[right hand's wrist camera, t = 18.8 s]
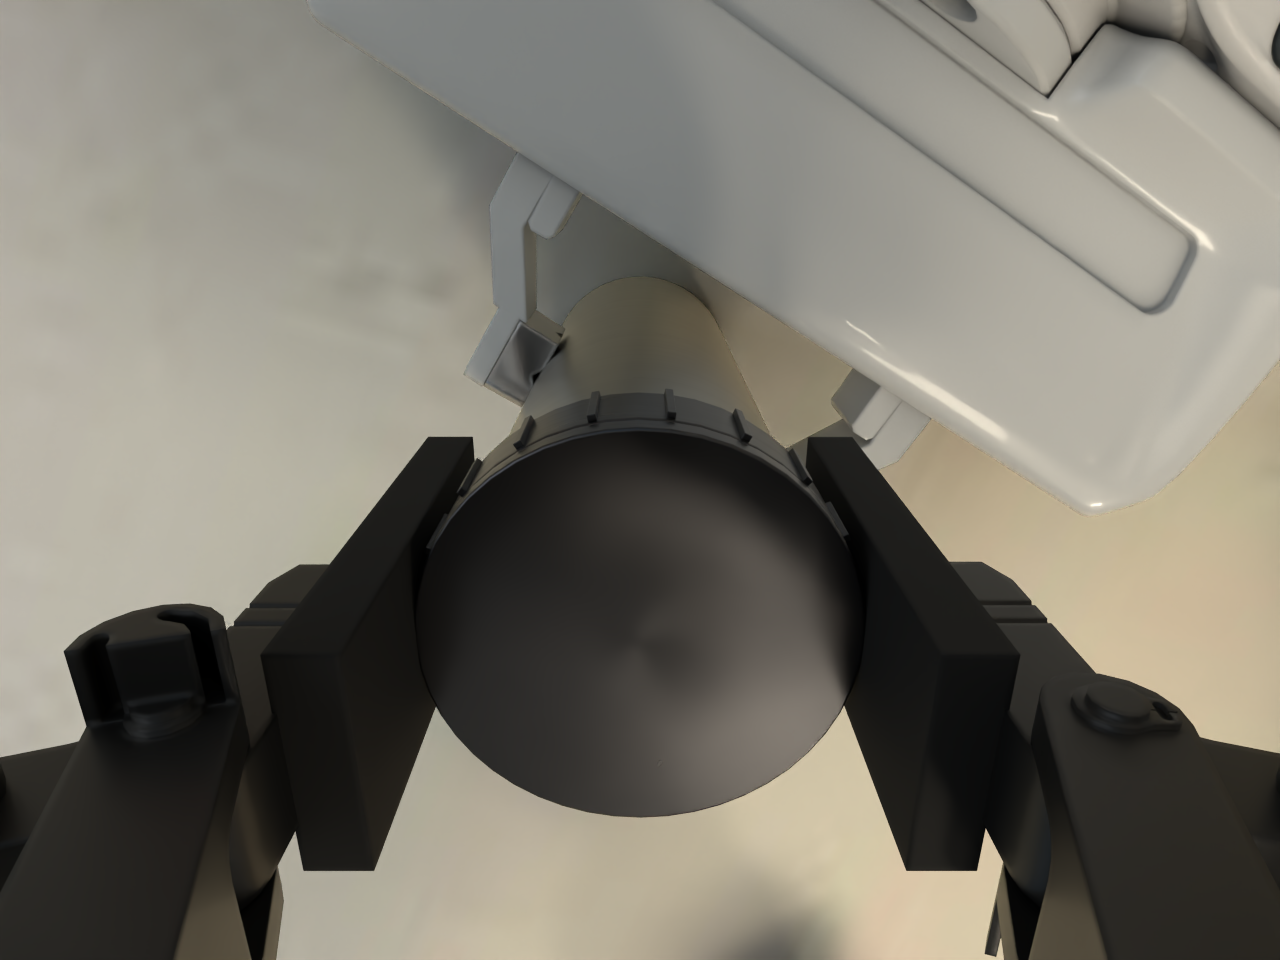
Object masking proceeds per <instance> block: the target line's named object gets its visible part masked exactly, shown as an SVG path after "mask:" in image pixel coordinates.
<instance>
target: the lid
mask: <svg viewBox="0 0 1280 960" xmlns="http://www.w3.org/2000/svg"><path fill="white" fill-rule="evenodd" d="M457 494H459V496H458V498H457V500H456V501H455V503H454V505H453V507H452V509H451V511H450V512H449V514H444V515H443V517H442V519H441V521H440V523H439V524H438V526H437V528H436V530H435V531H434V533H433V535H432V537H431V539H430V540H429V542H428V544H427V546H426V548H425V551H424V554H426V555H428V556H427V558H426V560H425V563H424V565H423V568H422V572H421V576H420V580H419V583H418V587H417V591H416V600H415V610H414V622H415V631H416V640H417V648H418V656H419V664H420V669H421V672H422V674H423V677H424V680H425V683H426V685H427V688H428V691H429V693H430V695H431V697H432V699H433V701H434V703H435V705H436V707H437V708H438V710H439V712H440V714H441V716H442V717H443V718H444V720H445V721H446V723H447V724H448V725H449V727H450V728H451V730H452V731H453V732H454V734H455V735H456V736H457V737H458V738H459V739H460V741H461V742H462V743H463V744H464V745H465V746H466V747H467V748H468V749H469V750H470V751H471V752H472V753H473V754H474V755H475V756H476V757H477V758H478V759H480V760H481V761H482V762H483V763H484V764H486V765H487V766H488V767H489V768H490V769H492V770H493V771H494V772H496V773H497V774H499V775H500V776H502V777H503V778H505V779H507V780H508V781H510V782H511V783H513V784H514V785H516V786H518V787H520V788H522V789H524V790H526V791H528V792H530V793H532V794H534V795H536V796H538V797H541V798H543V799H546V800H549V801H551V802H554V803H557V804H559V805H562V806H566V807H570V808H573V809H577V810H581V811H585V812H590V813H596V814H603V815H610V816H620V817H659V816H671V815H677V814H683V813H690V812H695V811H699V810H703V809H706V808H710V807H714V806H718V805H721V804H723V803H726V802H729V801H731V800H734V799H736V798H739V797H742V796H744V795H746V794H748V793H750V792H752V791H754V790H756V789H758V788H760V787H762V786H763V785H765V784H767V783H769V782H770V781H772V780H773V779H775V778H776V777H778V776H779V775H781V774H782V773H784V772H785V771H787V770H788V769H790V768H791V767H792V766H793V765H794V764H795V763H797V762H798V761H799V760H800V759H801V758H802V757H804V756H805V755H806V754H807V753H808V752H809V751H810V750H811V749H812V748H813V747H814V746H815V745H816V743H817V742H818V741H819V740H820V739H821V738H822V737H823V736H824V735H825V734H826V732H827V731H828V729H829V728H830V726H831V725H832V724H833V722H834V721H835V719H836V718H837V716H838V715H839V714H840V712H841V710H842V708H843V706H844V704H845V702H846V700H847V698H848V696H849V694H850V692H851V690H852V688H853V685H854V682H855V679H856V676H857V673H858V670H859V667H860V663H861V658H862V652H863V645H864V636H865V621H866V613H865V604H864V596H863V588H862V585H861V581H860V578H859V574H858V570H857V567H856V563H855V561H854V559H853V557H852V554H851V552H850V550H849V548H848V546H847V542H849V541H851V538H850V536H849V534H848V532H847V530H846V528H845V527H844V525H843V523H842V521H841V520H840V518H839V516H838V514H837V512H836V511H835V509H834V507H833V505H832V504H831V502H827V503H825V502H824V500H823V498H822V497H821V495H820V493H819V491H818V490H817V488H816V487H815V485H814V483H813V480H812V478H811V477H810V475H809V473H808V471H807V469H806V467H805V465H804V464H803V462H802V460H801V458H800V456H799V454H798V453H797V452H796V451H795V449H794V448H792V449H791V450H790V451H789V452H788V451H787V450H786V449H785V448H784V447H783V446H782V445H780V444H779V443H778V442H777V441H776V440H775V439H773V438H772V437H771V436H770V435H769V434H767V433H766V432H764V431H763V430H761V429H760V428H758V427H757V426H755V425H754V424H752V423H750V422H749V421H747V420H746V419H745V417H744V415H743V412H742V411H741V410H739V409H736V408H735V410H734V412H733V413H731V412H729V411H727V410H725V409H723V408H720V407H717V406H714V405H711V404H708V403H705V402H702V401H699V400H696V399H691V398H686V397H680V396H675V395H674V393H673V389H665V393H664V394H658V393H640V392H637V393H622V394H609V395H604V396H600V391H595V392H592V393H591V397H590V398H589V399H584V400H581V401H578V402H575V403H572V404H569V405H566V406H563V407H560V408H557V409H555V410H552V411H550V412H548V413H546V414H544V415H542V416H540V417H538V418H536V419H533V417H532V416H531V415H530V416H528V417H526V418H525V419H524V421H523V423H522V425H521V428H520V429H518V430H517V431H516V432H514V433H513V434H511V435H510V436H508V437H507V438H506V439H505V440H504V441H503V442H502V443H500V444H499V445H498V446H497V447H496V448H495V449H494V450H493V451H491V452H490V453H489V454H488V456H487V457H486V458H485V459H484V460H483V461H481V460H479V459H478V458H477V459H476V460H475V461H474V462H473V464H472V466H471V468H470V469H469V471H468V473H467V475H466V476H465V478H464V480H463V482H462V484H461V485H460V487H459V489H458V491H457Z"/></svg>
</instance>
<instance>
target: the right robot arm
mask: <svg viewBox="0 0 1280 960" xmlns="http://www.w3.org/2000/svg"><path fill="white" fill-rule="evenodd" d="M474 461H475V460H474V447H473V437H428V438H427V439H426V441H425V442H424V443H423V444H422V446H421V447H420V448H419V450H418V451H417V452H416V453H415V455H414V456H413V457H412V459H411V460H410V461H409V463H408V464H407V465H406V466H405V468H404V469H403V470H402V472H401V473H400V474H399V475H398V477H397V478H396V479H395V481H394V482H393V483H392V485H391V486H390V487H389V488H388V490H387V491H386V492H385V494H384V495H383V496H382V497H381V499H380V500H379V501H378V503H377V504H376V505H375V507H374V508H373V509H372V510H371V512H370V513H369V514H368V516H367V517H366V518H365V519H364V521H363V522H362V523H361V525H360V526H359V527H358V529H357V530H356V531H355V532H354V534H353V535H352V536H351V538H350V539H349V540H348V541H347V543H346V544H345V545H344V547H343V548H342V549H341V551H340V552H339V553H338V554H337V556H336V557H335V558H334V560H333V561H332V562H331V563H330V565H298V566H296V567H295V568H293V569H291V570H289V571H288V572H286V573H284V574H283V575H281V576H279V577H277V578H276V579H274V580H272V581H271V582H269V583H268V584H267V585H266V586H265V587H264V588H263V590H262V591H261V592H260V593H259V594H258V595H257V596H256V597H255V599H254V600H253V601H252V602H251V603H250V608H246V609H245V610H244V611H243V612H242V613H241V614H240V615H239V617H238V618H237V619H236V620H235V621H234V626H230V627H229V628H228V629H227V630H226V626H225V622H224V617H223V616H222V615H221V614H220V613H218V612H217V611H215V610H214V609H213V608H211V607H206V606H200V605H195V604H171V605H160V606H155V607H150V608H146V609H141V610H136V611H132V612H129V613H127V614H124V615H121V616H118V617H116V618H113V619H110V620H108V621H105V622H103V623H101V624H99V625H97V626H96V627H94V628H92V629H90V630H89V631H87V632H85V633H83V634H82V635H80V636H79V637H78V638H77V639H76V640H75V641H74V642H73V643H72V644H71V645H70V646H69V647H68V648H67V649H66V650H65V651H64V654H65V657H66V661H67V664H68V667H69V670H70V674H71V677H72V680H73V684H74V687H75V690H76V693H77V697H78V700H79V703H80V706H81V710H82V713H83V716H84V720H85V723H86V726H87V727H86V729H85V731H84V733H83V734H82V736H81V738H80V740H79V742H75V743H71V744H66V745H61V746H56V747H51V748H46V749H41V750H36V751H31V752H26V753H21V754H16V755H11V756H5V757H0V960H276V956H277V948H278V941H279V933H280V925H281V918H282V910H283V903H284V899H283V892H282V885H281V880H280V875H279V871H278V864H279V862H280V860H281V858H282V856H283V854H284V852H285V850H286V848H287V846H288V844H289V842H290V840H291V839H292V837H293V835H294V833H295V831H296V836H297V840H298V845H299V850H300V855H301V860H302V865H303V870H304V871H374V870H375V867H376V864H377V862H378V859H379V856H380V854H381V851H382V848H383V846H384V843H385V840H386V838H387V835H388V832H389V830H390V827H391V824H392V822H393V819H394V816H395V814H396V811H397V808H398V806H399V803H400V801H401V798H402V795H403V793H404V790H405V787H406V785H407V782H408V779H409V777H410V774H411V771H412V769H413V766H414V763H415V761H416V758H417V755H418V753H419V750H420V747H421V745H422V742H423V739H424V737H425V734H426V731H427V729H428V726H429V723H430V721H431V718H432V715H433V713H434V710H435V707H436V705H435V703H434V701H433V699H432V697H431V695H430V693H429V691H428V688H427V685H426V683H425V680H424V677H423V674H422V672H421V669H420V664H419V656H418V648H417V640H416V631H415V622H414V610H415V600H416V591H417V587H418V583H419V580H420V576H421V572H422V568H423V565H424V563H425V560H426V558H427V556H428V555H426V554H424V551H425V548H426V546H427V544H428V542H429V540H430V539H431V537H432V535H433V533H434V531H435V530H436V528H437V526H438V524H439V523H440V521H441V519H442V517H443V515H444V514H449V512H450V511H451V509H452V507H453V505H454V503H455V501H456V500H457V498H458V496H459V494H457V491H458V489H459V487H460V485H461V484H462V482H463V480H464V478H465V476H466V475H467V473H468V471H469V469H470V468H471V466H472V464H473V462H474ZM806 469H807V471H808V473H809V475H810V477H811V478H812V480H813V483H814V485H815V487H816V488H817V490H818V491H819V493H820V495H821V497H822V498H823V500H824V502H825V503H827V502H831V504H832V505H833V507H834V509H835V511H836V512H837V514H838V516H839V518H840V520H841V521H842V523H843V525H844V527H845V528H846V530H847V532H848V534H849V536H850V538H851V541H849V542H847V546H848V548H849V550H850V552H851V554H852V557H853V559H854V561H855V563H856V567H857V570H858V574H859V578H860V581H861V585H862V588H863V596H864V604H865V613H866V621H865V636H864V645H863V652H862V658H861V663H860V667H859V670H858V673H857V676H856V679H855V682H854V685H853V688H852V690H851V692H850V694H849V696H848V698H847V700H846V702H845V704H844V706H845V709H846V711H847V714H848V717H849V719H850V722H851V725H852V727H853V730H854V733H855V735H856V738H857V741H858V743H859V746H860V748H861V751H862V754H863V756H864V759H865V762H866V764H867V767H868V770H869V772H870V775H871V778H872V780H873V783H874V786H875V788H876V791H877V794H878V796H879V799H880V802H881V804H882V807H883V810H884V812H885V815H886V818H887V820H888V823H889V826H890V828H891V831H892V834H893V836H894V839H895V842H896V844H897V847H898V850H899V852H900V855H901V858H902V860H903V863H904V866H905V868H906V871H977V868H978V863H979V858H980V853H981V848H982V843H983V838H984V833H985V828H986V829H987V831H988V833H989V835H990V837H991V839H992V841H993V843H994V845H995V847H996V849H997V851H998V853H999V854H1000V856H1001V858H1002V860H1003V866H1002V871H1001V875H1000V880H999V884H998V889H997V894H996V898H995V903H994V907H993V912H992V917H991V921H990V926H989V931H988V935H987V942H986V948H985V954H987V955H991V956H995V957H996V955H997V951H998V946H999V942H1000V939H1002V946H1003V954H1004V960H1280V754H1279V753H1274V752H1269V751H1264V750H1259V749H1253V748H1248V747H1243V746H1238V745H1233V744H1228V743H1223V742H1218V741H1213V740H1209V739H1205V738H1201V737H1199V735H1198V733H1197V731H1196V729H1195V727H1194V725H1193V724H1192V723H1191V722H1190V721H1189V719H1188V718H1187V717H1186V716H1185V715H1184V713H1183V712H1182V711H1181V710H1180V709H1179V708H1178V707H1176V706H1175V705H1173V704H1172V703H1171V702H1169V701H1168V700H1166V699H1165V698H1163V697H1162V696H1160V695H1159V694H1157V693H1156V692H1153V691H1151V690H1149V689H1146V688H1144V687H1142V686H1139V685H1137V684H1135V683H1132V682H1130V681H1127V680H1123V679H1119V678H1115V677H1110V676H1106V675H1102V674H1096V673H1095V672H1094V671H1093V669H1092V668H1091V667H1090V666H1089V665H1088V664H1087V663H1086V662H1085V661H1084V659H1083V658H1082V657H1081V656H1080V655H1079V654H1078V653H1077V652H1076V650H1075V649H1074V648H1073V647H1072V646H1071V645H1070V644H1069V643H1068V641H1067V640H1066V639H1065V638H1064V637H1063V636H1062V635H1061V634H1060V633H1059V631H1058V630H1057V629H1056V628H1055V627H1054V626H1053V625H1052V624H1051V623H1047V618H1046V617H1045V616H1044V615H1043V613H1042V612H1041V611H1040V610H1039V609H1038V608H1037V607H1036V606H1035V605H1032V604H1031V600H1030V599H1029V598H1028V597H1027V596H1026V594H1025V593H1024V592H1023V591H1022V590H1021V589H1020V588H1019V587H1018V585H1017V584H1016V583H1015V582H1014V581H1013V580H1012V579H1010V578H1008V577H1007V576H1005V575H1003V574H1001V573H1000V572H998V571H996V570H995V569H993V568H991V567H989V566H988V565H986V564H984V563H982V562H949V561H948V560H947V559H946V558H945V556H944V555H943V554H942V552H941V551H940V550H939V548H938V547H937V546H936V545H935V543H934V542H933V541H932V539H931V538H930V537H929V536H928V534H927V533H926V532H925V530H924V529H923V528H922V526H921V525H920V524H919V523H918V521H917V520H916V519H915V517H914V516H913V515H912V514H911V512H910V511H909V510H908V508H907V507H906V506H905V504H904V503H903V502H902V501H901V499H900V498H899V497H898V495H897V494H896V493H895V492H894V490H893V489H892V488H891V486H890V485H889V484H888V482H887V481H886V480H885V479H884V477H883V476H882V475H881V473H880V472H879V471H878V470H877V468H876V467H875V466H874V464H873V463H872V462H871V460H870V459H869V458H868V457H867V455H866V454H865V453H864V451H863V450H862V449H861V448H860V446H859V445H858V444H857V442H856V441H855V440H854V439H853V437H808V442H807V454H806Z"/></svg>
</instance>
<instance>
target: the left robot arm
mask: <svg viewBox="0 0 1280 960" xmlns="http://www.w3.org/2000/svg"><path fill="white" fill-rule="evenodd" d="M306 1H307V5H308V8H309V11H310V13H311V14H312V16H313V18H314V19H315V20H316V21H317V22H318V23H319V24H321V25H322V26H324V27H325V28H327V29H328V30H330V31H331V32H333V33H334V34H336V35H337V36H339V37H340V38H342V39H343V40H345V41H346V42H348V43H350V44H351V45H353V46H354V47H356V48H357V49H359V50H360V51H362V52H363V53H365V54H367V55H368V56H370V57H371V58H373V59H374V60H376V61H377V62H379V63H381V64H382V65H384V66H385V67H387V68H388V69H390V70H391V71H393V72H394V73H396V74H398V75H399V76H401V77H402V78H404V79H405V80H407V81H408V82H410V83H412V84H413V85H415V86H416V87H418V88H419V89H421V90H422V91H424V92H426V93H427V94H429V95H430V96H432V97H433V98H435V99H436V100H438V101H439V102H441V103H443V104H444V105H446V106H447V107H449V108H450V109H452V110H453V111H455V112H457V113H458V114H460V115H461V116H463V117H464V118H466V119H467V120H469V121H470V122H472V123H474V124H475V125H477V126H478V127H480V128H481V129H483V130H484V131H486V132H488V133H489V134H491V135H492V136H494V137H495V138H497V139H498V140H500V141H501V142H503V143H505V144H506V145H508V146H509V147H511V148H512V149H514V150H515V151H517V153H516V155H515V157H514V159H513V161H512V163H511V165H510V167H509V168H508V170H507V172H506V174H505V176H504V178H503V180H502V182H501V184H500V186H499V188H498V190H497V192H496V193H495V195H494V197H493V199H492V201H491V203H490V205H489V209H490V232H491V255H492V278H493V302H494V304H495V305H496V306H498V307H499V308H498V310H497V312H496V313H495V315H494V317H493V319H492V321H491V323H490V324H489V326H488V328H487V330H486V332H485V333H484V335H483V337H482V339H481V341H480V343H479V344H478V346H477V348H476V350H475V352H474V354H473V355H472V357H471V359H470V361H469V363H468V364H467V367H466V369H465V372H464V375H465V376H467V377H468V378H470V379H471V380H473V381H474V382H476V383H477V384H479V385H480V386H484V387H486V388H488V389H489V390H491V391H493V392H495V393H497V394H498V395H500V396H502V397H504V398H506V399H507V400H509V401H511V402H513V403H514V404H516V405H518V406H520V407H522V406H523V405H524V403H525V401H526V399H527V397H528V395H529V393H530V391H531V389H532V387H533V385H534V383H535V381H536V378H537V376H538V374H539V372H541V371H542V370H543V369H544V367H545V366H546V365H547V364H548V362H549V360H550V359H551V357H552V355H553V354H554V352H555V350H556V348H557V347H558V345H559V343H560V341H561V339H562V336H563V334H564V332H565V328H564V327H562V326H560V325H559V324H557V323H556V322H554V321H553V320H551V319H549V318H548V317H546V316H545V315H543V314H542V313H540V312H538V311H537V310H536V308H537V307H536V234H538V235H540V236H541V237H543V238H545V239H549V238H553V237H554V236H555V235H557V234H558V233H559V232H560V231H562V230H563V228H564V226H565V225H566V223H567V221H568V219H569V218H570V216H571V214H572V212H573V211H574V209H575V207H576V205H577V204H578V202H579V200H580V198H581V197H582V195H583V194H584V195H585V196H587V197H588V198H590V199H591V200H593V201H595V202H596V203H598V204H599V205H601V206H602V207H604V208H605V209H607V210H609V211H610V212H612V213H613V214H615V215H616V216H618V217H619V218H621V219H622V220H624V221H626V222H627V223H629V224H630V225H632V226H633V227H635V228H636V229H638V230H640V231H641V232H643V233H644V234H646V235H647V236H649V237H650V238H652V239H653V240H655V241H657V242H658V243H660V244H661V245H663V246H664V247H666V248H667V249H669V250H671V251H672V252H674V253H675V254H677V255H678V256H680V257H681V258H683V259H684V260H686V261H688V262H689V263H691V264H692V265H694V266H695V267H697V268H698V269H700V270H702V271H703V272H705V273H706V274H708V275H709V276H711V277H712V278H714V279H716V280H717V281H719V282H720V283H722V284H723V285H725V286H726V287H728V288H729V289H731V290H733V291H734V292H736V293H737V294H739V295H740V296H742V297H743V298H745V299H747V300H748V301H750V302H751V303H753V304H754V305H756V306H757V307H759V308H760V309H762V310H764V311H765V312H767V313H768V314H770V315H771V316H773V317H774V318H776V319H778V320H779V321H781V322H782V323H784V324H785V325H787V326H788V327H790V328H792V329H793V330H795V331H796V332H798V333H799V334H801V335H802V336H804V337H805V338H807V339H809V340H810V341H812V342H813V343H815V344H816V345H818V346H819V347H821V348H823V349H824V350H826V351H827V352H829V353H830V354H832V355H833V356H835V357H836V358H838V359H840V360H841V361H843V362H844V363H846V364H847V365H849V366H850V367H852V368H853V369H852V370H851V372H850V373H849V375H848V376H847V377H846V379H845V380H844V382H843V383H842V385H841V386H840V387H839V389H838V390H837V392H836V393H835V394H834V396H833V397H832V399H831V402H832V406H833V407H834V408H835V410H836V411H837V412H838V413H839V415H840V416H841V417H842V418H843V419H842V420H840V421H838V422H836V423H834V424H832V425H830V426H828V427H826V428H824V429H822V430H821V431H819V432H817V433H815V434H813V435H811V436H809V437H853V439H854V440H855V441H856V442H857V444H858V445H859V446H860V448H861V449H862V450H863V451H864V453H865V454H866V455H867V457H868V458H869V459H870V460H871V462H872V463H873V464H874V466H875V467H876V468H877V470H880V469H882V468H884V467H887V466H889V465H891V464H893V463H896V462H898V461H899V459H900V458H901V457H902V456H903V454H904V453H905V452H906V450H907V449H908V448H909V447H910V445H911V444H912V443H913V442H914V440H915V439H916V438H917V437H918V435H919V434H920V433H921V431H922V430H923V429H924V428H925V426H926V425H927V424H928V423H929V421H930V420H931V419H933V420H934V421H936V422H937V423H939V424H940V425H942V426H943V427H945V428H947V429H948V430H950V431H951V432H953V433H954V434H956V435H957V436H959V437H961V438H962V439H964V440H965V441H967V442H968V443H970V444H971V445H973V446H975V447H976V448H978V449H979V450H981V451H982V452H984V453H985V454H987V455H988V456H990V457H992V458H993V459H995V460H996V461H998V462H999V463H1001V464H1002V465H1004V466H1006V467H1007V468H1009V469H1010V470H1012V471H1013V472H1015V473H1016V474H1018V475H1019V476H1021V477H1023V478H1024V479H1026V480H1027V481H1029V482H1030V483H1032V484H1033V485H1035V486H1037V487H1038V488H1040V489H1041V490H1043V491H1044V492H1046V493H1047V494H1049V495H1051V496H1052V497H1054V498H1055V499H1057V500H1058V501H1060V502H1061V503H1063V504H1065V505H1066V506H1068V507H1069V508H1071V509H1072V510H1074V511H1075V512H1077V513H1079V514H1080V515H1083V516H1086V517H1095V516H1099V515H1103V514H1107V513H1111V512H1114V511H1117V510H1120V509H1124V508H1127V507H1130V506H1133V505H1136V504H1138V503H1141V502H1144V501H1147V500H1148V499H1150V498H1152V497H1154V496H1155V495H1156V494H1158V493H1159V492H1161V491H1162V490H1163V489H1164V488H1165V487H1166V486H1168V485H1169V484H1170V483H1171V482H1172V481H1173V480H1174V479H1175V478H1176V477H1177V476H1178V475H1179V474H1180V473H1181V472H1182V471H1183V470H1184V469H1185V468H1186V467H1187V466H1188V465H1189V464H1190V463H1191V462H1192V461H1193V460H1194V459H1195V458H1196V457H1197V455H1198V454H1199V453H1200V452H1201V451H1202V450H1203V449H1204V448H1205V447H1206V446H1207V445H1208V444H1209V443H1210V441H1211V440H1212V439H1213V438H1214V437H1215V436H1216V435H1217V434H1218V433H1219V431H1220V430H1221V429H1222V428H1223V427H1224V426H1225V425H1226V424H1227V422H1228V421H1229V420H1230V419H1231V418H1232V417H1233V416H1234V414H1235V413H1236V412H1237V411H1238V410H1239V409H1240V408H1241V406H1242V405H1243V404H1244V403H1245V402H1246V400H1247V399H1248V398H1249V397H1250V396H1251V395H1252V393H1253V392H1254V391H1255V390H1256V389H1257V387H1258V386H1259V385H1260V384H1261V383H1262V381H1263V380H1264V379H1265V378H1266V377H1267V375H1268V374H1269V373H1270V372H1271V370H1272V369H1273V368H1274V367H1275V365H1276V364H1277V363H1278V362H1279V360H1280V0H306ZM807 442H808V437H807V438H805V439H803V440H801V441H800V442H798V443H796V444H794V445H792V446H790V447H788V448H786V450H787V451H788V452H789V451H790V450H791V449H792V448H794V449H795V451H796V452H797V453H798V454H799V456H800V458H801V460H802V462H803V464H804V465H805V467H806V454H807Z"/></svg>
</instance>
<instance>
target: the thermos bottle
mask: <svg viewBox="0 0 1280 960" xmlns="http://www.w3.org/2000/svg"><path fill="white" fill-rule="evenodd" d="M562 327H564V328H565V332H564V334H563V336H562V339H561V341H560V343H559V345H558V347H557V348H556V350H555V352H554V354H553V355H552V357H551V359H550V360H549V362H548V364H547V365H546V366H545V367H544V369H543V370H542V371H541V372H539V374H538V376H537V378H536V381H535V383H534V385H533V387H532V389H531V391H530V393H529V395H528V397H527V399H526V401H525V403H524V405H523V408H522V410H521V412H520V414H519V416H518V418H517V420H516V422H515V424H514V426H513V428H512V430H511V432H510V434H509V436H510V435H511V434H513V433H514V432H516V431H517V430H518V429H520V428H521V425H522V423H523V421H524V419H525V418H526V417H528V416H530V415H531V416H532V417H533V419H536V418H538V417H540V416H542V415H544V414H546V413H548V412H550V411H552V410H555V409H557V408H560V407H563V406H566V405H569V404H572V403H575V402H578V401H581V400H584V399H589V398H590V397H591V393H592V392H595V391H600V396H604V395H609V394H622V393H637V392H640V393H658V394H664V393H665V389H673V393H674V395H675V396H680V397H686V398H691V399H696V400H699V401H702V402H705V403H708V404H711V405H714V406H717V407H720V408H723V409H725V410H727V411H729V412H731V413H733V412H734V410H735V408H736V409H739V410H741V411H742V412H743V415H744V417H745V419H746V420H747V421H749V422H750V423H752V424H754V425H755V426H757V427H758V428H760V429H761V430H763V431H764V432H766V433H767V434H769V435H770V433H769V431H768V429H767V427H766V425H765V423H764V421H763V419H762V417H761V415H760V412H759V410H758V408H757V406H756V404H755V402H754V400H753V398H752V396H751V394H750V392H749V389H748V387H747V385H746V383H745V381H744V379H743V377H742V375H741V373H740V371H739V369H738V366H737V364H736V362H735V360H734V358H733V356H732V354H731V352H730V350H729V348H728V346H727V343H726V341H725V339H724V337H723V335H722V333H721V331H720V329H719V327H718V325H717V323H716V321H715V319H714V317H713V316H712V314H711V313H710V311H709V310H708V309H707V308H706V307H705V305H704V304H703V303H702V302H701V301H700V300H699V299H698V298H696V297H695V296H694V295H693V294H692V293H690V292H689V291H687V290H686V289H684V288H682V287H680V286H678V285H676V284H674V283H672V282H668V281H665V280H662V279H658V278H652V277H627V278H623V279H618V280H614V281H612V282H609V283H606V284H604V285H602V286H600V287H598V288H596V289H594V290H593V291H591V292H590V293H589V294H587V295H586V296H585V297H583V298H582V299H581V300H580V301H579V302H578V303H577V304H576V305H575V307H574V308H573V309H572V310H571V311H570V313H569V314H568V316H567V318H566V319H565V321H564V322H563V324H562ZM770 436H771V435H770Z"/></svg>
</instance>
